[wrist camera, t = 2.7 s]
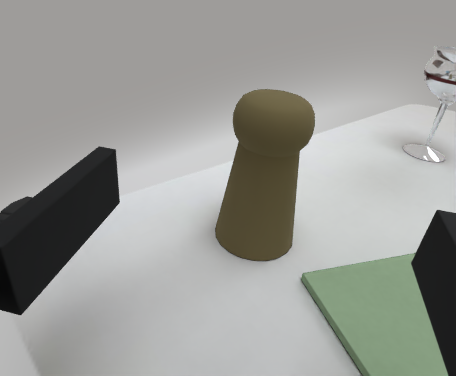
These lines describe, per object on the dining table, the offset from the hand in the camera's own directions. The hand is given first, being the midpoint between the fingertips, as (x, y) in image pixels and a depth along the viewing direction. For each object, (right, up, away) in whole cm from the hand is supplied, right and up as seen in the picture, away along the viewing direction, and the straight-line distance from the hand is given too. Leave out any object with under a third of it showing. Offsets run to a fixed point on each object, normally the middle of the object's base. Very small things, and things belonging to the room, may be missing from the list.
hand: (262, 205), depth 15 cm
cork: (+1, -3, +13) cm, 13 cm away
